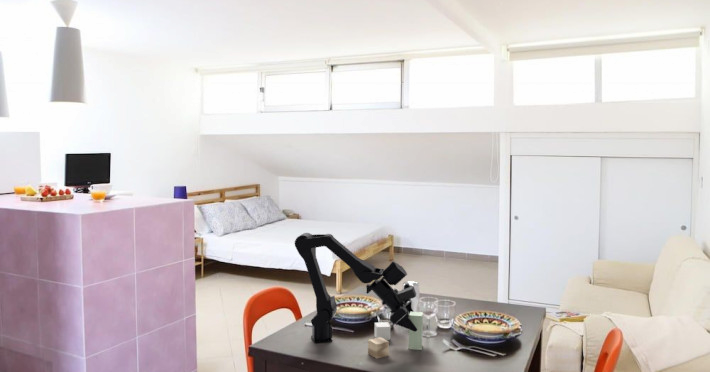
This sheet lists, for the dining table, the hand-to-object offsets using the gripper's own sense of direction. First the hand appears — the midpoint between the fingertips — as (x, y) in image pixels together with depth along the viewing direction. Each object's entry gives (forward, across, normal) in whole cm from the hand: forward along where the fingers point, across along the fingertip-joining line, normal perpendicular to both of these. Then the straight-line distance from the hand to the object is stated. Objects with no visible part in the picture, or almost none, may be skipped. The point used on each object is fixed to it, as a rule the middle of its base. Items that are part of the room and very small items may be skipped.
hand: (417, 326), depth 194 cm
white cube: (-4, +7, +15) cm, 17 cm away
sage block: (+5, 0, +6) cm, 8 cm away
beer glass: (+2, +29, +9) cm, 31 cm away
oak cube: (-3, -10, +14) cm, 17 cm away
